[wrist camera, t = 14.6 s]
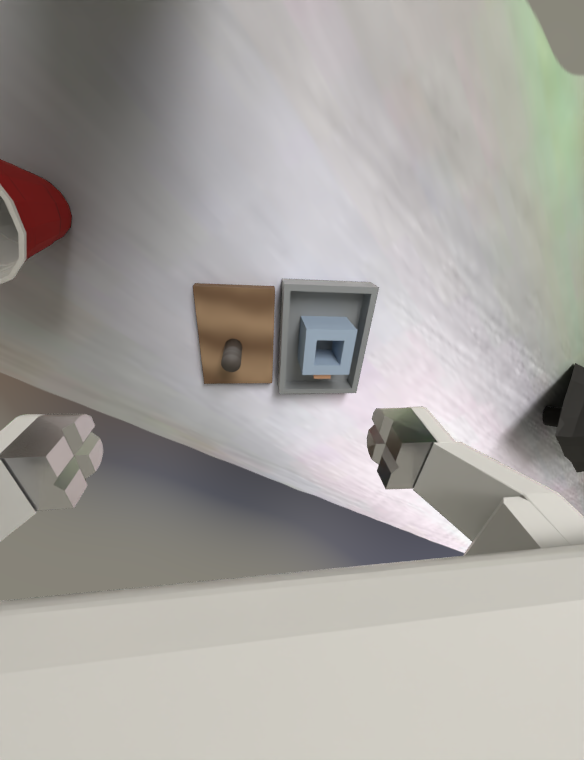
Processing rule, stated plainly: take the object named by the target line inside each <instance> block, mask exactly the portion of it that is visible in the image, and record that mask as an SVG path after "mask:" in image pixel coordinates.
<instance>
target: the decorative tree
mask: <svg viewBox="0 0 584 760" xmlns="http://www.w3.org/2000/svg"><path fill="white" fill-rule="evenodd" d="M543 423H544V424H545V425H549V426H556V427H558V428H557V432H556V438H557V440H558V442H559V444H560V446H561V448H562V451H563V453H564V456H565V457H566V458H568V459H569V460H570V461H571V462H572V464H573V466H574V468H575V470H576V472H582V471H584V367H582V366H580V365H578V364H576V363H575V366H574V369H573V373H572V377H571V380H570V383H569V387H568V390H567V393H566V396H565V399H564V403H563V407H562V408H558V407H548V406H547V407H546V408H545V409H544V412H543Z"/></svg>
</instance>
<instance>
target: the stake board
mask: <svg viewBox="0 0 584 760" xmlns="http://www.w3.org/2000/svg"><path fill="white" fill-rule="evenodd" d="M193 292H194V300H195V309H196V317H197V326H198V334H199V343H200V351H201V360H202V368H203V377H204V384H217V383H272V371H273V337H274V304H275V287H274V286H253V285H226V284H199V283H195V284H194V285H193Z"/></svg>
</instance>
